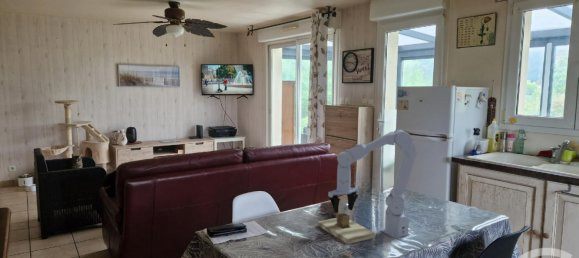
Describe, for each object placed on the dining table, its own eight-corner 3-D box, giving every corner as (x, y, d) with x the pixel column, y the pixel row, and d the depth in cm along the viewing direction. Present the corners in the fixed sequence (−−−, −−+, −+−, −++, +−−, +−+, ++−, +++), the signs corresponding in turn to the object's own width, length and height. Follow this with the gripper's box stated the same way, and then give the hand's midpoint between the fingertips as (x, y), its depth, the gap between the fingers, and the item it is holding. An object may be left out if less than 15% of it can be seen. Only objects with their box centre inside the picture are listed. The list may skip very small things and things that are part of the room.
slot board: (375, 237, 154) (375, 232, 154) (347, 244, 147) (348, 239, 147) (343, 220, 173) (343, 216, 173) (317, 225, 167) (317, 221, 166)
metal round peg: (352, 218, 176) (352, 204, 175) (343, 220, 174) (343, 205, 173) (345, 215, 181) (346, 201, 180) (337, 217, 178) (337, 202, 177)
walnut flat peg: (349, 231, 160) (349, 215, 160) (343, 232, 159) (343, 216, 158) (342, 227, 165) (342, 212, 164) (336, 228, 163) (336, 213, 163)
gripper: (351, 176, 167) (350, 205, 168) (324, 180, 160) (324, 210, 161) (361, 179, 160) (361, 210, 162) (334, 183, 153) (333, 215, 155)
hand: (343, 211), depth 161 cm, fingers open, 7 cm apart
